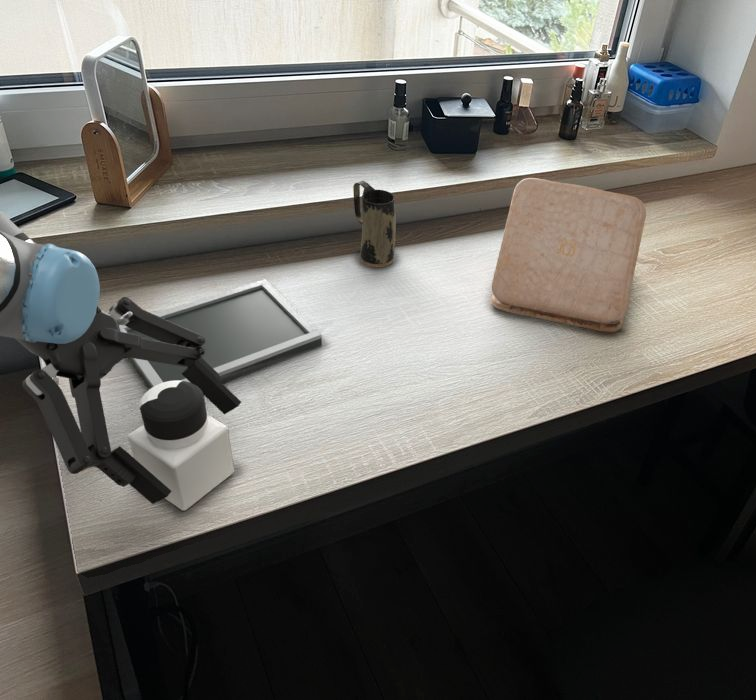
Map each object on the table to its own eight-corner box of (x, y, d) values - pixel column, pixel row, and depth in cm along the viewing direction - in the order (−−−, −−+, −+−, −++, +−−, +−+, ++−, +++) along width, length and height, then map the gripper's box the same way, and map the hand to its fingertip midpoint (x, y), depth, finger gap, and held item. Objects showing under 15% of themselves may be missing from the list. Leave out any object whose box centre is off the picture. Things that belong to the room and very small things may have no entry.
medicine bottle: (236, 472, 80) (224, 391, 73) (184, 513, 75) (165, 431, 68) (191, 443, 83) (175, 363, 75) (138, 481, 78) (115, 399, 70)
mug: (401, 260, 118) (404, 192, 111) (376, 271, 115) (378, 203, 107) (368, 240, 122) (369, 174, 115) (343, 251, 118) (342, 184, 111)
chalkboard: (162, 407, 87) (159, 394, 86) (114, 338, 96) (111, 326, 95) (322, 345, 99) (321, 334, 98) (266, 289, 108) (265, 278, 107)
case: (484, 312, 109) (498, 217, 99) (511, 246, 125) (524, 159, 115) (619, 342, 106) (646, 247, 96) (628, 270, 123) (652, 183, 113)
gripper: (101, 254, 80) (239, 388, 87) (-90, 396, 61) (106, 553, 68) (135, 222, 76) (276, 365, 83) (-58, 363, 57) (146, 533, 64)
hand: (200, 450), depth 76 cm, fingers open, 13 cm apart
